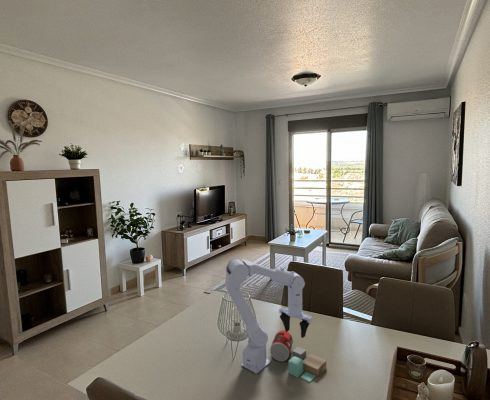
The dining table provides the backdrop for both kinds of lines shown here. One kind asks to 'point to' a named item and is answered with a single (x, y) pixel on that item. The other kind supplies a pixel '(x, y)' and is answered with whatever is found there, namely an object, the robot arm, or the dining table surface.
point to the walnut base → (314, 365)
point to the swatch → (308, 376)
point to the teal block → (295, 366)
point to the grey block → (299, 353)
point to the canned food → (281, 346)
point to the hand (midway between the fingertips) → (295, 333)
